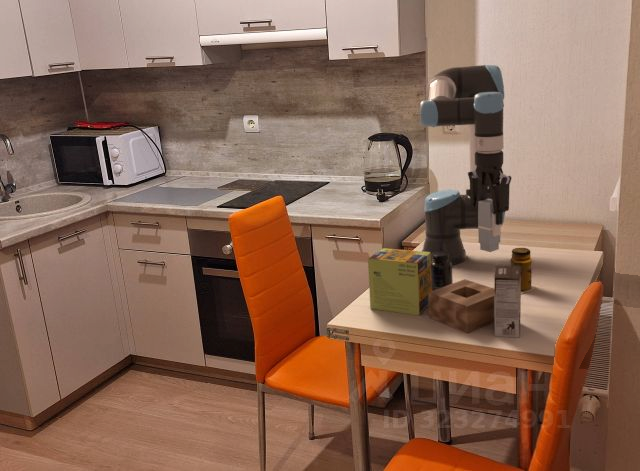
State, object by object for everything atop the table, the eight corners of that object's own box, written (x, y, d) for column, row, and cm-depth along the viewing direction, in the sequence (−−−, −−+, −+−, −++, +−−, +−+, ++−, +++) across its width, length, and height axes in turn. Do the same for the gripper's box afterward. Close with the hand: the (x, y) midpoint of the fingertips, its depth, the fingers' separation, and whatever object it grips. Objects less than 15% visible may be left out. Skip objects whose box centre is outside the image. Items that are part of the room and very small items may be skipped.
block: (429, 317, 184) (428, 292, 182) (465, 303, 191) (464, 279, 189) (467, 333, 173) (467, 306, 170) (503, 317, 180) (503, 291, 178)
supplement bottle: (435, 285, 207) (434, 248, 203) (456, 288, 203) (455, 251, 200) (425, 293, 201) (424, 255, 198) (446, 296, 198) (445, 258, 194)
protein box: (420, 316, 186) (418, 263, 181) (369, 309, 193) (366, 258, 189) (433, 302, 194) (431, 251, 190) (384, 296, 202) (381, 247, 197)
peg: (478, 249, 189) (478, 201, 185) (488, 246, 191) (488, 198, 187) (490, 252, 186) (490, 203, 182) (500, 249, 188) (500, 200, 184)
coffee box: (495, 322, 178) (495, 264, 173) (520, 323, 176) (521, 265, 172) (493, 336, 170) (493, 276, 165) (520, 338, 168) (520, 277, 163)
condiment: (537, 288, 198) (538, 249, 195) (518, 295, 194) (518, 256, 191) (518, 282, 204) (518, 244, 201) (499, 289, 200) (499, 251, 197)
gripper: (455, 150, 185) (457, 230, 192) (505, 156, 172) (505, 242, 178) (474, 145, 189) (475, 225, 196) (524, 151, 176) (523, 236, 182)
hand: (489, 233), depth 187 cm, fingers closed on peg, 4 cm apart
